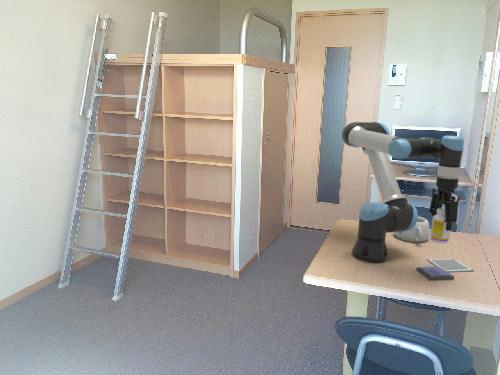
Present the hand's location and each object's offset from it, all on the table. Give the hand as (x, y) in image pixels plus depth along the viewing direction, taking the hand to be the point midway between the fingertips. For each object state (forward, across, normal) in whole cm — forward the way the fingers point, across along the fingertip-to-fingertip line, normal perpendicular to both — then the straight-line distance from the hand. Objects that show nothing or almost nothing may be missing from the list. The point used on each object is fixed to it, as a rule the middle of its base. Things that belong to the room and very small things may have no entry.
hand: (439, 234), depth 167 cm
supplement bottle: (+3, 0, 0) cm, 3 cm away
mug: (+17, +41, -14) cm, 46 cm away
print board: (+17, +8, -12) cm, 22 cm away
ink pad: (+17, 0, 0) cm, 17 cm away
